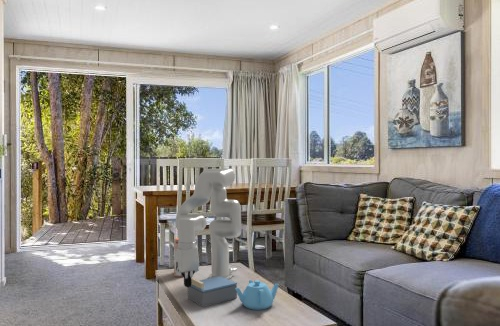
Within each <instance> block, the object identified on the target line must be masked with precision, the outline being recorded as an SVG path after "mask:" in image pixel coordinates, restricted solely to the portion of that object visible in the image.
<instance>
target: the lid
mask: <svg viewBox="0 0 500 326" xmlns="http://www.w3.org/2000/svg"><path fill="white" fill-rule="evenodd" d="M191 281H192V284H191V287H193V288H195V289H197V290H199V291H201V292H208V291H212V290H216V289H220V288H225V287H229V286H233V285H237V286H238V282H236V281H233V280H231V279H226V278H224V277H221V276H218V277H214V278H209V277H208V278H205V279H200V280H199V279H195V277H192V278H191Z"/></svg>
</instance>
